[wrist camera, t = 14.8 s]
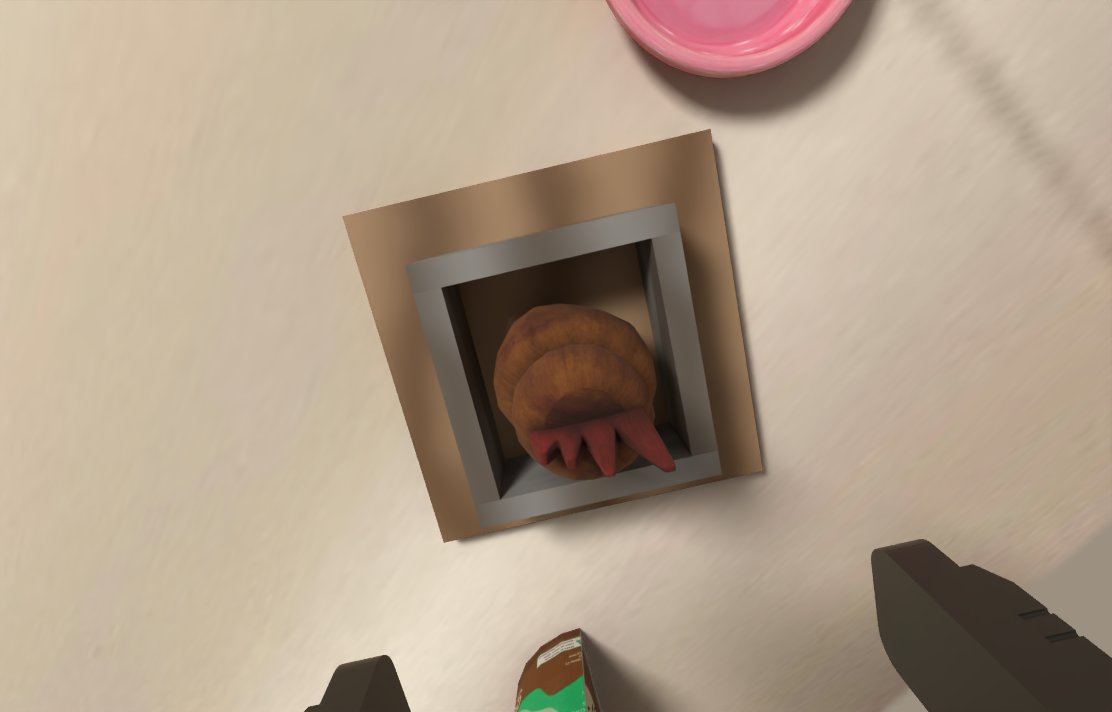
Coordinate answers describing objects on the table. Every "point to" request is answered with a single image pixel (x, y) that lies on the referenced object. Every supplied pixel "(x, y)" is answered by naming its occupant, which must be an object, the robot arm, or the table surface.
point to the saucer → (726, 31)
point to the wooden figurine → (579, 391)
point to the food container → (558, 678)
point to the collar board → (567, 278)
